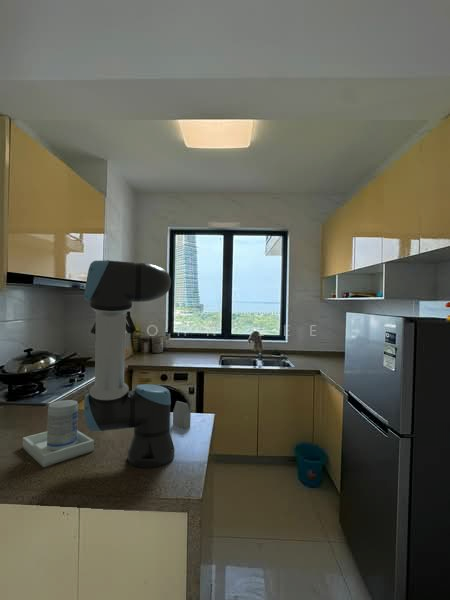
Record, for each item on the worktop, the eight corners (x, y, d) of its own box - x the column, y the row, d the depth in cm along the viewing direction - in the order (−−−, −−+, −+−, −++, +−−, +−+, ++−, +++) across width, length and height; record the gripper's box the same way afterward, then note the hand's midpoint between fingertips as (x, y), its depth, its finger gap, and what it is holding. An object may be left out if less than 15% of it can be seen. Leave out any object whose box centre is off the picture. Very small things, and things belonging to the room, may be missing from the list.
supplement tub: (79, 447, 109) (80, 405, 110) (47, 454, 104) (49, 409, 104) (74, 438, 117) (76, 398, 118) (45, 443, 112) (47, 401, 112)
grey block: (184, 429, 130) (184, 405, 130) (172, 425, 134) (173, 402, 134) (190, 427, 133) (190, 403, 133) (178, 423, 137) (179, 400, 137)
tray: (93, 450, 109) (94, 440, 109) (43, 467, 97) (43, 455, 97) (69, 434, 122) (69, 425, 122) (22, 447, 110) (22, 437, 110)
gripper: (135, 301, 150) (133, 345, 149) (83, 299, 131) (81, 350, 130) (144, 301, 145) (143, 347, 145) (91, 299, 126) (90, 352, 126)
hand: (113, 348), depth 137 cm, fingers open, 13 cm apart
